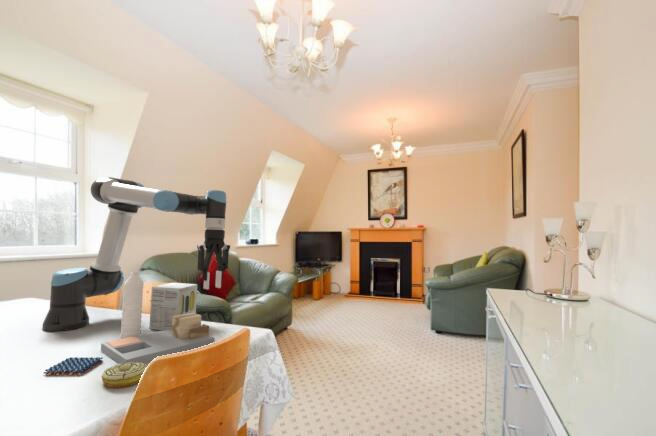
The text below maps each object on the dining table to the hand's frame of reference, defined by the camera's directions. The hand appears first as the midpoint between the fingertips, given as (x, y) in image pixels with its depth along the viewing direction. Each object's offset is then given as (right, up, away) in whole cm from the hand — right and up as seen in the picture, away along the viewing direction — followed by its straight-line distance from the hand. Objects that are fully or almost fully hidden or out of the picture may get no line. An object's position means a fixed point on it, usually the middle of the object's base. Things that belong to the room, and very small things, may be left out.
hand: (212, 288), depth 129 cm
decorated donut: (-9, -17, -41) cm, 45 cm away
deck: (-13, -18, -15) cm, 27 cm away
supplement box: (-21, -19, +11) cm, 30 cm away
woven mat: (-28, -17, -34) cm, 47 cm away
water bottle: (-28, -18, -5) cm, 34 cm away
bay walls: (-5, -16, -7) cm, 18 cm away
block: (-7, -16, -9) cm, 19 cm away
